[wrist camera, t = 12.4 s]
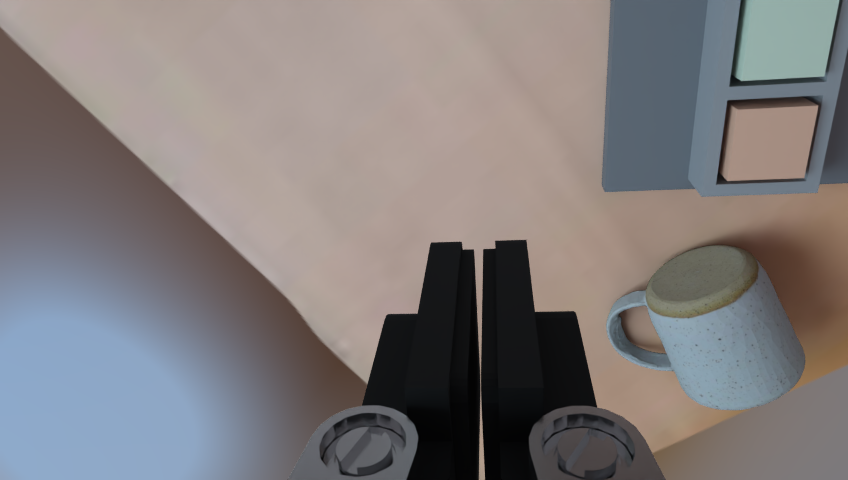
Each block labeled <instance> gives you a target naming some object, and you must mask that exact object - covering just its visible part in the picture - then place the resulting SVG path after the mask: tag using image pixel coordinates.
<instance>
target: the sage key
mask: <svg viewBox="0 0 848 480" xmlns="http://www.w3.org/2000/svg"><path fill="white" fill-rule="evenodd" d="M838 5H839V0H741V1H740V9H739V16H738V24H737V31H736V39H735V46H734V54H733V61H732V69H731V75H733V76H734V77H736V78H737V79H739V80H741V81H751V80H769V79H787V78H805V77H823V76H825V70H826V65H827V60H828V55H829V50H830V45H831V40H832V35H833V30H834V25H835V20H836V15H837V10H838Z"/></svg>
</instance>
